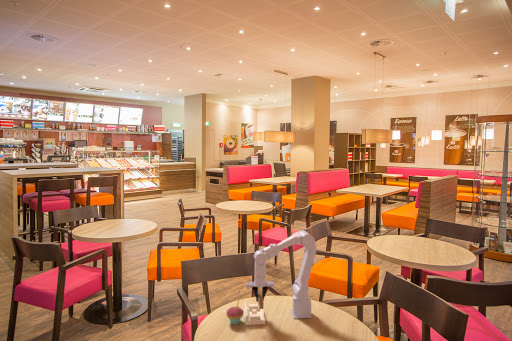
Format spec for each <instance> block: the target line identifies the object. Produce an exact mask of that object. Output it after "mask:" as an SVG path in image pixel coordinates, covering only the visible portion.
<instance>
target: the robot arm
mask: <svg viewBox="0 0 512 341" xmlns="http://www.w3.org/2000/svg"><path fill="white" fill-rule="evenodd" d="M293 245H298V246H302V245H303V247H304V249H305V252H304V255H303V259H302V261H301V262H302V263H301V266H300V270H299V272H298V277H297V278H296V279H295V281H294V283H293V284H292V285H291V291H292V293H293V295H292V309H290V313H291V315H292V318H293V319H295V320H297V319H311V318H312V299H311V298H310V297H309V279H310V276H311V272H312V268H313V264H314V260H315V258H316V255H317V250H318V248H317V244H316V239H315V238H314V236H313V235H311V234H310V233H309V232H307V231H306V230H305V229H301V230H298V231H297V232H293V234H291V235H290V236H289V237H287V238H285V239H284V240H282V241H281V242H279V243H270V244H269V246H267V247H265V248H261V249H260V250H259V249H258V250H256V251H255V252H254V254H253V259H254V281H250V282H245V288H246V289H249V288H252V291H253V294H254V296H255V301H256V302H257V303H258V288H261V291H262V295H263V299H264V300H265V297H266V295H267V292H268V290H269V289H268V288H269V287H271V288H275V282H274V281H267V279H266V278H267V272H266V271H267V270H266V268H267V265H266V263H267V262H268V260H271V259H272V258H274V257H276V256H278V255H279V254H280V253H281V251H282V250H284V249H286V248H289V247H291V246H293Z"/></svg>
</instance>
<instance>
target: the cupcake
mask: <svg viewBox="0 0 512 341" xmlns="http://www.w3.org/2000/svg"><path fill="white" fill-rule="evenodd" d="M239 303H240V299H237V303H236V306H231V307H230V308H228V309H227V310H226V312H225V313H226V317H227V318H228V319H229V321H230V324H232V325H238V324H240V322H241V319H242V317H244V309H242V308H241V307H239Z"/></svg>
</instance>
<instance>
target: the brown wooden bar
mask: <svg viewBox="0 0 512 341" xmlns="http://www.w3.org/2000/svg"><path fill="white" fill-rule="evenodd" d="M264 301H265V298H264V299H263V295H262V288H260V289H258V302H257V304H258V307H259V309H263V310H264V304H265V303H264Z"/></svg>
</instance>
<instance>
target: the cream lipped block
mask: <svg viewBox="0 0 512 341" xmlns="http://www.w3.org/2000/svg"><path fill="white" fill-rule="evenodd" d="M243 306H244V307H243V311H244V312H243V317H244V325H245V326H253V325H254V326H256V325H266V317H265V312H264V308H263V309H259V305H258V303H252V304H248V306H247V302H244V305H243Z"/></svg>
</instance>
